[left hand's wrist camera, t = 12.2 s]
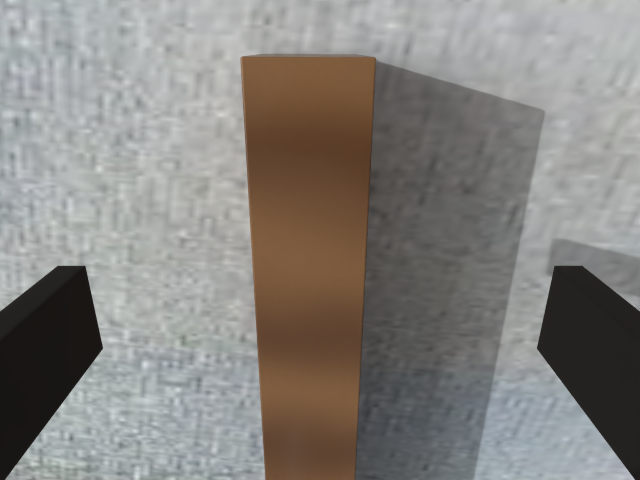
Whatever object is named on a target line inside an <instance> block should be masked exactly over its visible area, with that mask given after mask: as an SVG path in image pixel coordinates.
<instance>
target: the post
mask: <svg viewBox="0 0 640 480" xmlns="http://www.w3.org/2000/svg"><path fill="white" fill-rule="evenodd" d="M375 71H376V58H375V57H369V56H362V55H327V54H259V55H251V56H243V57H241V76H242V92H243V109H244V126H245V143H246V160H247V177H248V194H249V211H250V227H251V244H252V261H253V278H254V295H255V312H256V329H257V346H258V363H259V379H260V396H261V413H262V430H263V447H264V464H265V480H355V472H356V452H357V432H358V412H359V392H360V372H361V352H362V332H363V312H364V292H365V272H366V252H367V232H368V211H369V191H370V171H371V151H372V131H373V111H374V91H375Z"/></svg>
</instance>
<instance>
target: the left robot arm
mask: <svg viewBox="0 0 640 480" xmlns="http://www.w3.org/2000/svg"><path fill="white" fill-rule="evenodd" d="M102 349H103V346H102V342H101V337H100V332H99V328H98V323H97V318H96V314H95V309H94V304H93V300H92V295H91V290H90V286H89V281H88V276H87V272H86V267H85V266H57V267H56V268H55V269H53V270H52V271H51V272H50V273H48V274H47V275H46V276H44V277H43V278H42V279H41V280H39V281H38V282H37V283H36V284H34V285H33V286H32V287H31V288H29V289H28V290H27V291H26V292H24V293H23V294H22V295H20V296H19V297H18V298H17V299H15V300H14V301H13V302H12V303H10V304H9V305H8V306H7V307H5V308H4V309H3V310H2V311H0V480H5V479H6V478H7V476H8V475H9V473H10V472H11V471H12V469H13V468H14V467H15V465H16V464H17V463H18V461H19V460H20V459H21V457H22V456H23V455H24V453H25V452H26V451H27V449H28V448H29V447H30V445H31V444H32V443H33V441H34V440H35V439H36V437H37V436H38V435H39V433H40V432H41V431H42V429H43V428H44V427H45V425H46V424H47V423H48V421H49V420H50V419H51V417H52V416H53V415H54V413H55V412H56V411H57V409H58V408H59V407H60V405H61V404H62V403H63V401H64V400H65V399H66V397H67V396H68V395H69V393H70V392H71V391H72V389H73V388H74V387H75V385H76V384H77V383H78V381H79V380H80V379H81V377H82V376H83V375H84V373H85V372H86V371H87V369H88V368H89V367H90V365H91V364H92V363H93V361H94V360H95V359H96V357H97V356H98V355H99V353H100V352H101V351H102ZM537 349H538V351H539V352H540V353H541V355H542V356H543V357H544V359H545V360H546V361H547V363H548V364H549V365H550V367H551V368H552V369H553V371H554V372H555V373H556V375H557V376H558V377H559V379H560V380H561V381H562V383H563V384H564V385H565V387H566V388H567V389H568V391H569V392H570V393H571V395H572V396H573V397H574V399H575V400H576V401H577V403H578V404H579V405H580V407H581V408H582V409H583V411H584V412H585V413H586V415H587V416H588V417H589V419H590V420H591V421H592V423H593V424H594V425H595V427H596V428H597V429H598V431H599V432H600V433H601V435H602V436H603V437H604V439H605V440H606V441H607V443H608V444H609V445H610V447H611V448H612V449H613V451H614V452H615V453H616V455H617V456H618V457H619V459H620V460H621V461H622V463H623V464H624V465H625V467H626V468H627V469H628V471H629V472H630V473H631V475H632V476H633V478H634V479H635V480H640V311H638V310H637V309H636V308H635V307H633V306H632V305H631V304H630V303H628V302H627V301H626V300H625V299H623V298H622V297H621V296H620V295H618V294H617V293H616V292H614V291H613V290H612V289H611V288H609V287H608V286H607V285H606V284H604V283H603V282H602V281H601V280H599V279H598V278H597V277H596V276H594V275H593V274H592V273H590V272H589V271H588V270H587V269H585V268H584V267H583V266H555V267H554V272H553V276H552V281H551V286H550V290H549V295H548V300H547V304H546V309H545V314H544V318H543V323H542V328H541V332H540V337H539V342H538V346H537Z"/></svg>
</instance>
